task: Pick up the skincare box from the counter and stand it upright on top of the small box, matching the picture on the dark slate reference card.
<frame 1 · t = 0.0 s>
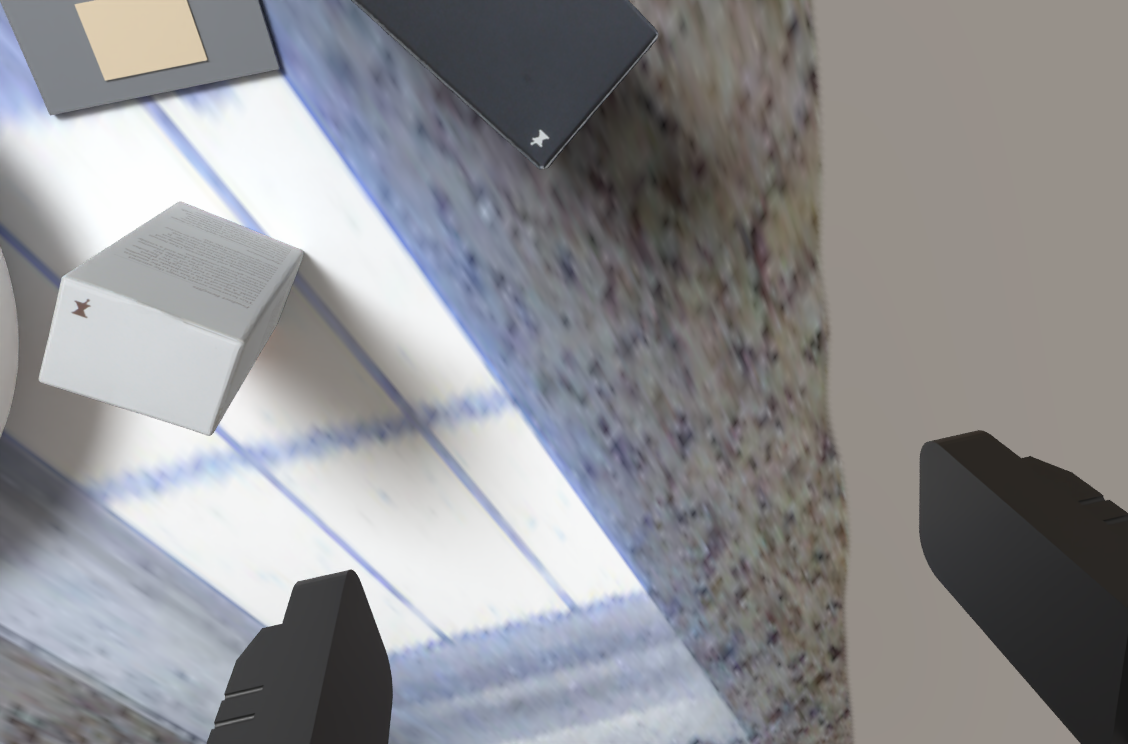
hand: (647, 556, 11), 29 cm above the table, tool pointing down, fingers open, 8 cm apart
skincare box: (233, 264, 38), on the table
small box: (479, 4, 35), on the table
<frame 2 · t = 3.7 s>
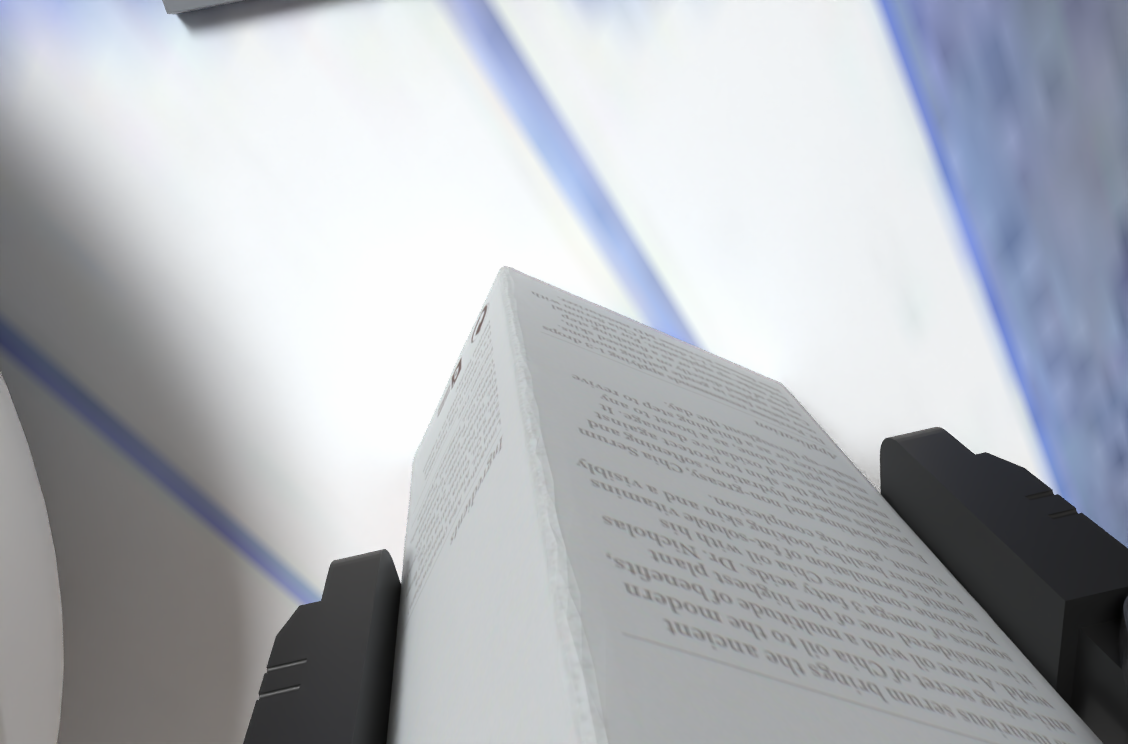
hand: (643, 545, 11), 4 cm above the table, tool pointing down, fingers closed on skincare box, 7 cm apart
skincare box: (600, 416, 15), on the table, touching gripper
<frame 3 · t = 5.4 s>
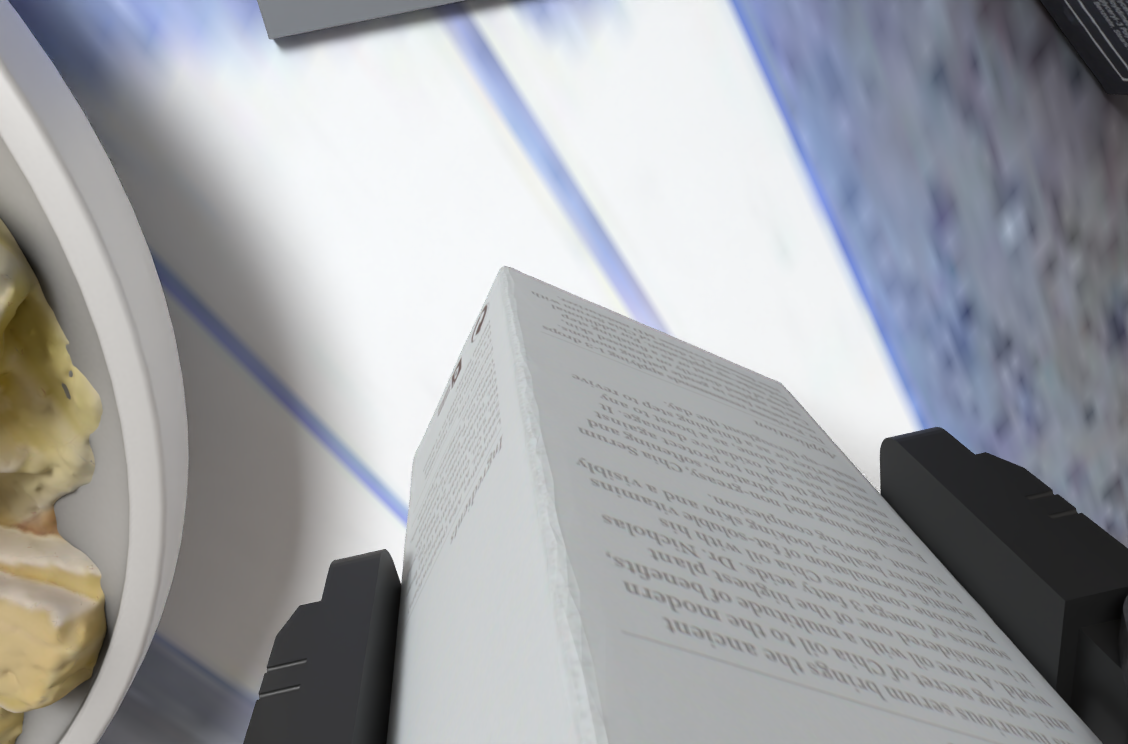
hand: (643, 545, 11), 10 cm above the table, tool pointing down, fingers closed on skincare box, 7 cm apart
skincare box: (600, 416, 15), point 6 cm above the table, touching gripper
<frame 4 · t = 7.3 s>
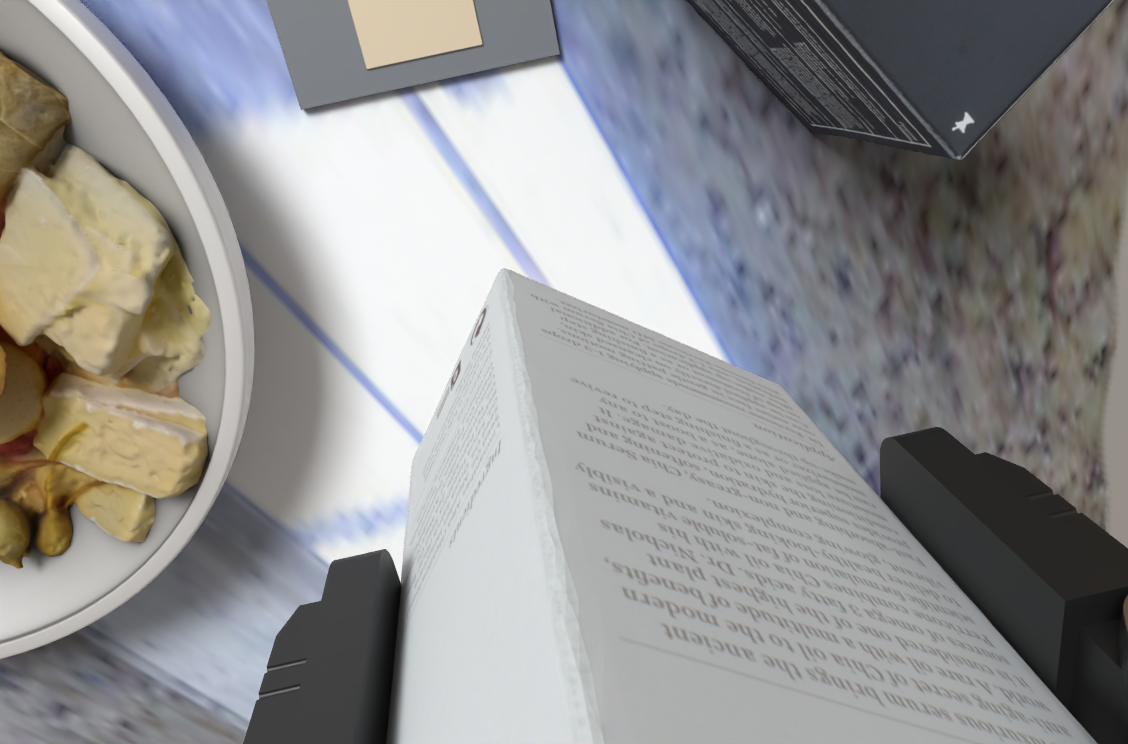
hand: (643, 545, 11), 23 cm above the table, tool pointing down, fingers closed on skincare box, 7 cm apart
skincare box: (599, 418, 15), point 19 cm above the table, touching gripper
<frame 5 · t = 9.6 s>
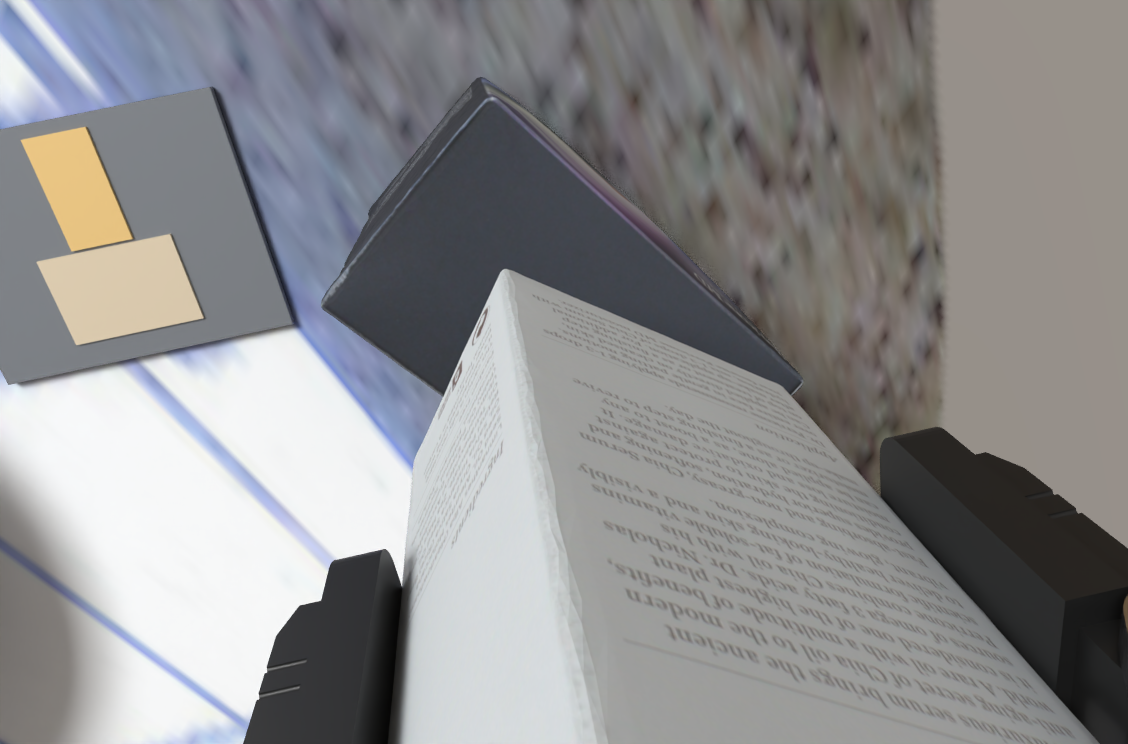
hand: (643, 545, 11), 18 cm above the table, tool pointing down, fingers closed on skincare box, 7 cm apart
reference card: (107, 242, 26), on the table
skincare box: (601, 418, 15), point 14 cm above the table, touching gripper
small box: (539, 240, 28), on the table
when the fingers open (15 cm above the table, at t = 11.3 s): skincare box stays where it is, resting on small box.
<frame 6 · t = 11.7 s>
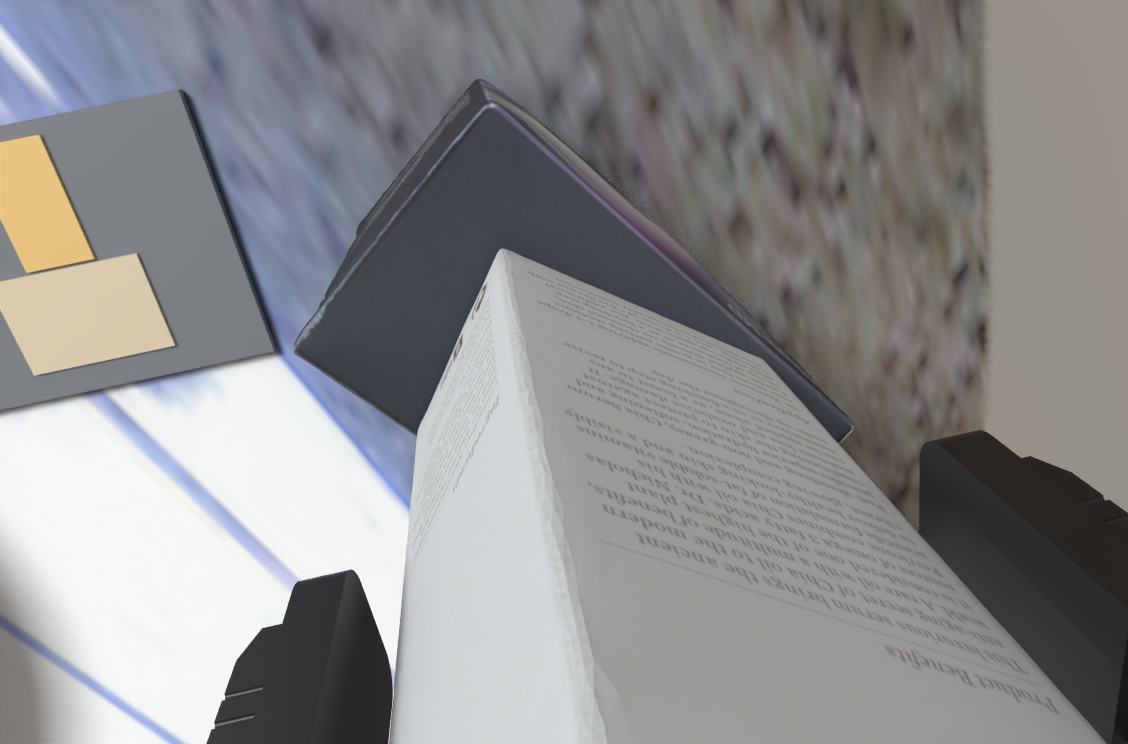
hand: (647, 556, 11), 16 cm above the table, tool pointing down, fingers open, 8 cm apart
reference card: (66, 262, 24), on the table
skincare box: (593, 391, 16), point 10 cm above the table, touching small box
small box: (546, 258, 26), on the table, touching skincare box
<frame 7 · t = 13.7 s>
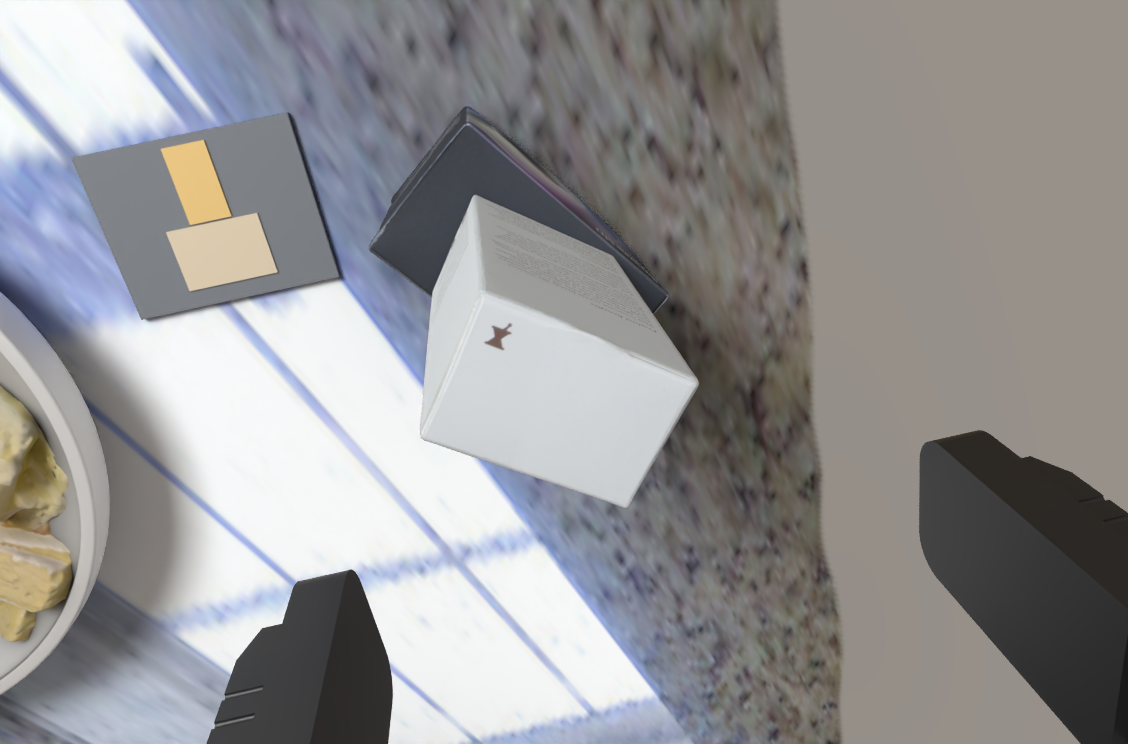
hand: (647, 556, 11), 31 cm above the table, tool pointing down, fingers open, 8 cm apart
reference card: (213, 219, 38), on the table
skincare box: (524, 273, 30), point 10 cm above the table, touching small box
small box: (511, 219, 40), on the table, touching skincare box
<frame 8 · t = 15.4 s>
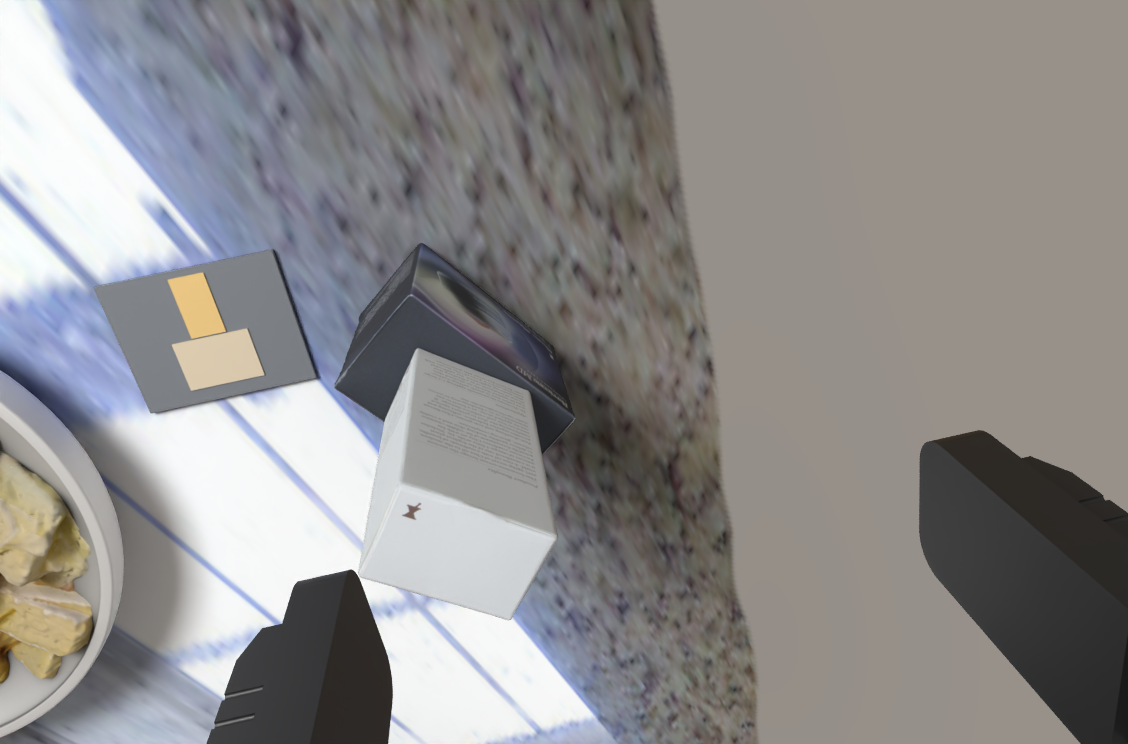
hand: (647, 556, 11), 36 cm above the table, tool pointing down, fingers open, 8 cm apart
reference card: (210, 332, 46), on the table
skincare box: (459, 403, 38), point 10 cm above the table, touching small box
small box: (460, 329, 48), on the table, touching skincare box
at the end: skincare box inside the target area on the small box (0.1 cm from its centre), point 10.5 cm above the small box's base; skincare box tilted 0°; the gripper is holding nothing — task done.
